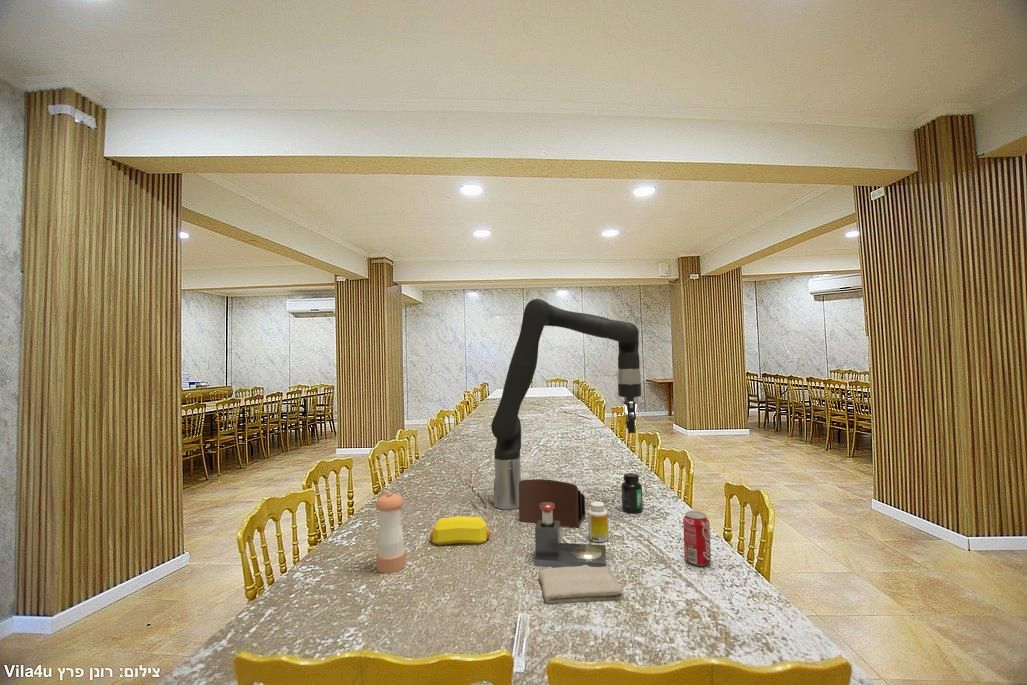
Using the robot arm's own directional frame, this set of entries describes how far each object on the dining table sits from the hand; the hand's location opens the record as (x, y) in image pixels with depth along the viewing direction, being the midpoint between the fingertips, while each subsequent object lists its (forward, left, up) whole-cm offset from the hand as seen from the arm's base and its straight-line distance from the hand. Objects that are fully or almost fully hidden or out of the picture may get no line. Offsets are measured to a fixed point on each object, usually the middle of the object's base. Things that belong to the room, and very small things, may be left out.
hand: (630, 430), depth 151 cm
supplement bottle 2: (0, +3, -28) cm, 28 cm away
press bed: (-18, -35, -28) cm, 48 cm away
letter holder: (-26, -8, -28) cm, 39 cm away
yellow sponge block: (-51, -28, -28) cm, 65 cm away
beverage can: (+14, -33, -28) cm, 45 cm away
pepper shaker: (-64, -46, -28) cm, 84 cm away
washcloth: (-15, -50, -28) cm, 60 cm away
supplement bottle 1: (-11, -22, -28) cm, 37 cm away
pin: (-24, -35, -22) cm, 48 cm away
